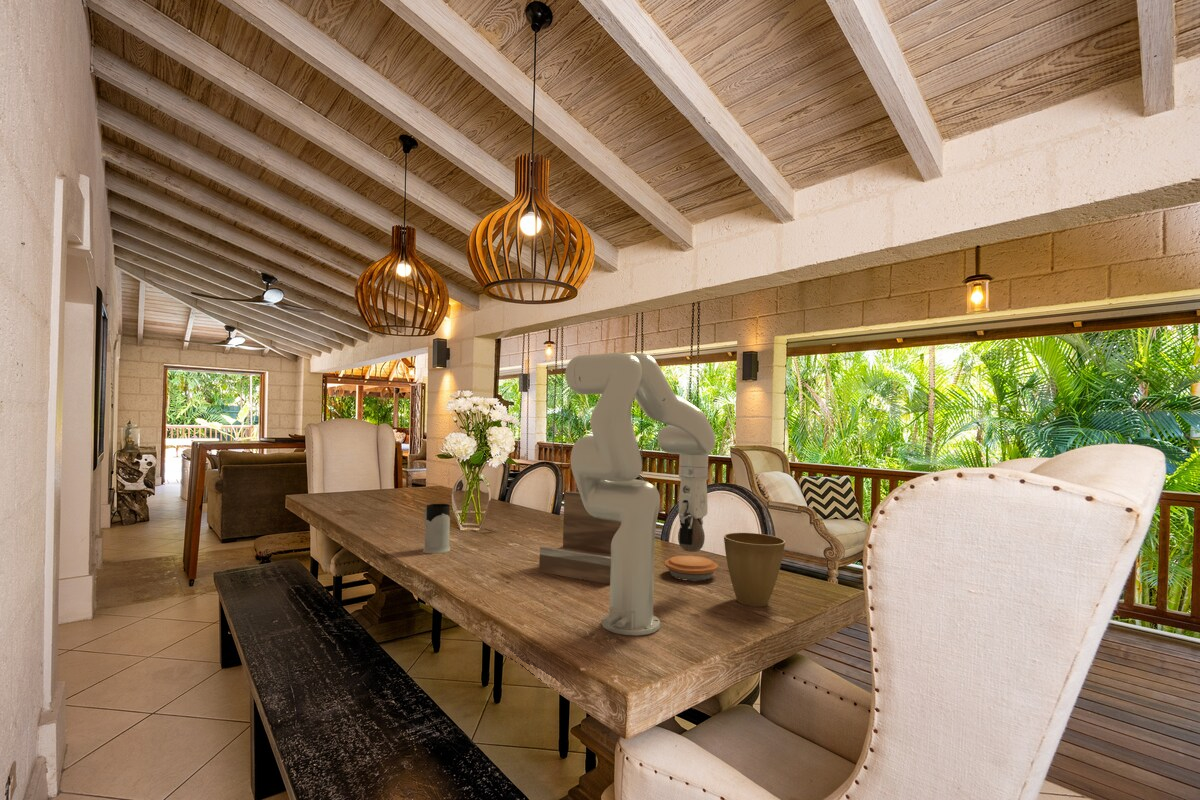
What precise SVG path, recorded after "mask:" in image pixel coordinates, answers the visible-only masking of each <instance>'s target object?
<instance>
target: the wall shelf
mask: <svg viewBox="0 0 1200 800" xmlns="http://www.w3.org/2000/svg"><path fill="white" fill-rule="evenodd" d="M563 493H564V494H563V526H562V527H563V528H562V529H563V530H562V546H561V547H557V548H554V547H548V546H540V547H539V558H538V559H539V563H538V564H539V565H538V566H539V567H538V569H539V570H538V572H539V573H546V574H551V575H555V576H556V575H557V576H562V577H567V578H573V579H577V578H578V579H579V580H582V579H584V581H588V580H589V582H593V581H594V583H599V584H605V585H610V568H611V542H612V539H613V537H614V535H615V533H616V532H617V531H618V529H619V528H620V526H621V522H617V521H611V520H605V519H599V518H595V517H593V516H591V515H590V514H589V513H588V512H587V511H586V509H585V507H584V505H583V502H582V499H581V496H580V493H579V491H569V490H567V491H564V492H563Z"/></svg>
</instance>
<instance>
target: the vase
mask: <svg viewBox="0 0 1200 800" xmlns="http://www.w3.org/2000/svg"><path fill="white" fill-rule="evenodd" d="M688 523H689V520H688ZM702 526H703V525H702ZM702 526H701V525H700V523H699V522H698V520H697V519H695V518H694V517H693V522H692V527H691V529H693V536H692V544H691V545H687V544H681V543H680V528H679V529H678V531H677V541H678V544H679V546H680V548H681V550H682V551H684V552H689V553H690V552H691V553H698V552H699V551H701V549H702V548H703V546H704V544H705V537H706V535H705V531H704V528H702Z"/></svg>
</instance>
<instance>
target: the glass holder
mask: <svg viewBox="0 0 1200 800" xmlns="http://www.w3.org/2000/svg"><path fill="white" fill-rule="evenodd" d="M450 507H451V505H450V504H448V503H431V504H430V503H429V504H427V505H426V507H425V509H424V523H425V524H424V525H425V529H424V530H425V531H424V548H423V550H422V552H423V553H426V554H433V555H435V554H445V553H448V552H451V548H450V527H451V526H450V524H451V523H450V522H451V518H450V512H451V511H450V509H451V508H450Z"/></svg>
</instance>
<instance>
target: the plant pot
mask: <svg viewBox="0 0 1200 800" xmlns="http://www.w3.org/2000/svg"><path fill="white" fill-rule="evenodd" d="M723 543H724V552H725V557H726V559H725V560H726V563H727V569H728V573H729V577H730V580H731V581H730V582H731V585H732V588H733V592H734V594H735V598H736V600H737V602H738V603H740V604H742V605H744V606H745V605H746V606H749V607H750V606H751V607H764V606H767V605H768V603H769V602H770V599H771V596H772V594H773V592H774V589H775V586H776V582H777V579H778V577H779V572H780V569H781V565H782V562H783V561H782V560H783V557H784V552H785V544H786V540H784V539H783V538H780V537H777V536H775V535H770V534H764V533H755V532H731V533H725V534H723Z"/></svg>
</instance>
